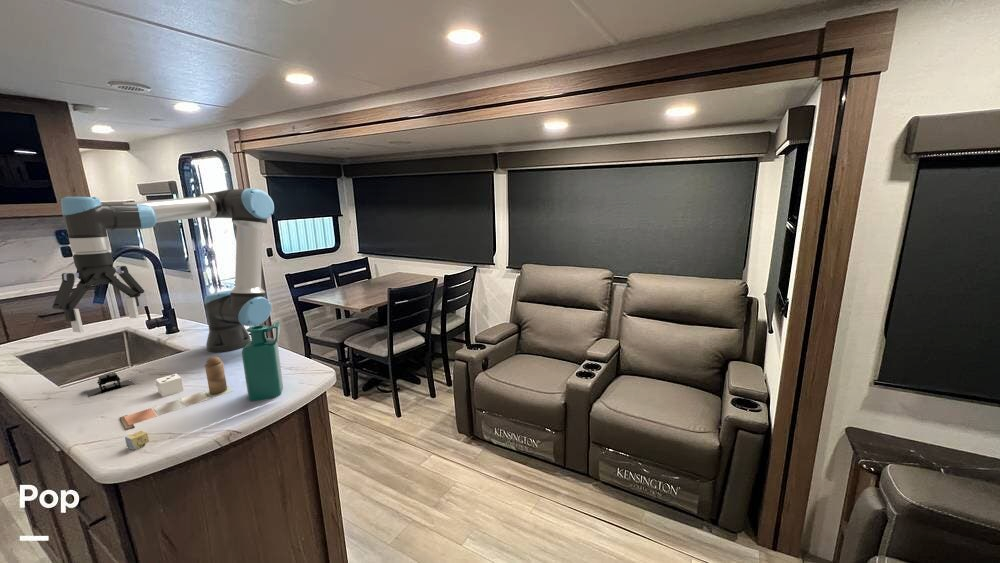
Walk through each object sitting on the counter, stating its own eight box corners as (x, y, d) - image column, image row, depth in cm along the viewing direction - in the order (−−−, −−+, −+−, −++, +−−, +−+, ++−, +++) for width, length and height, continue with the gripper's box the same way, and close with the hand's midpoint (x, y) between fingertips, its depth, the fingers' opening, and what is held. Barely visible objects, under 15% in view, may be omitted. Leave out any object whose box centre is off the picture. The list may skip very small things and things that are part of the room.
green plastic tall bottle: (247, 404, 110) (236, 332, 106) (253, 391, 118) (243, 324, 113) (285, 397, 114) (276, 327, 109) (288, 385, 121) (280, 320, 117)
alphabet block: (126, 448, 90) (124, 436, 90) (143, 440, 93) (140, 429, 93) (133, 451, 89) (131, 439, 89) (149, 443, 92) (147, 432, 91)
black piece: (82, 401, 114) (79, 386, 113) (78, 394, 118) (75, 379, 117) (141, 384, 124) (138, 371, 123) (135, 378, 129) (132, 365, 128)
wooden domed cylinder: (224, 386, 120) (219, 353, 118) (229, 390, 117) (223, 356, 115) (207, 391, 117) (201, 357, 114) (212, 395, 114) (206, 360, 112)
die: (179, 388, 121) (176, 373, 120) (183, 392, 118) (181, 377, 117) (158, 394, 117) (155, 379, 116) (163, 399, 114) (159, 383, 113)
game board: (226, 384, 122) (226, 382, 122) (237, 392, 117) (236, 390, 117) (119, 418, 103) (119, 416, 103) (126, 429, 98) (125, 427, 98)
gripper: (131, 247, 119) (145, 312, 123) (19, 258, 95) (40, 337, 99) (150, 247, 118) (163, 313, 122) (41, 258, 94) (61, 339, 98)
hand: (108, 324), depth 111 cm, fingers open, 13 cm apart
